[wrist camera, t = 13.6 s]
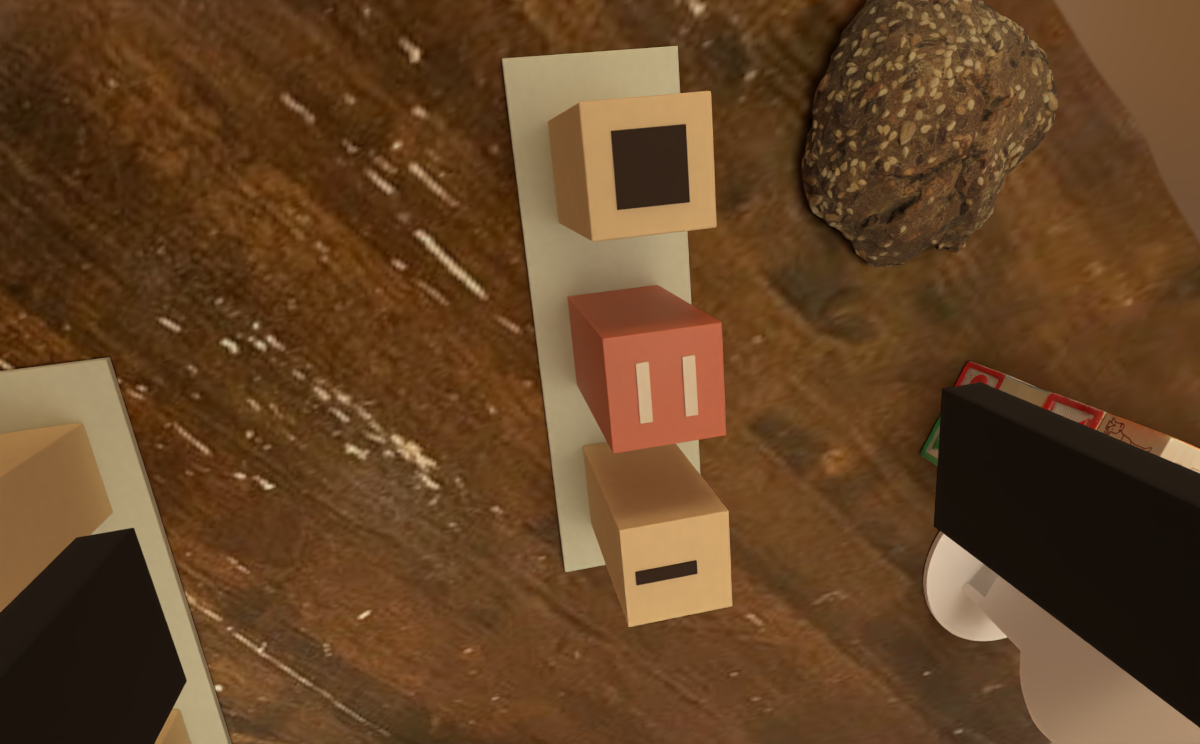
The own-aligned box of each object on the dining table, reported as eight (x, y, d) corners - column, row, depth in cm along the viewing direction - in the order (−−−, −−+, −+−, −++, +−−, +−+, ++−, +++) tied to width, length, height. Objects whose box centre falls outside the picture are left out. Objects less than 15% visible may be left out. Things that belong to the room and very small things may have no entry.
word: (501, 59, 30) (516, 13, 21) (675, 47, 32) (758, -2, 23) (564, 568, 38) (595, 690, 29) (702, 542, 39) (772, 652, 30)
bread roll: (884, -57, 32) (956, -96, 27) (1062, 84, 36) (1152, 71, 31) (747, 194, 34) (792, 197, 30) (928, 302, 38) (994, 321, 33)
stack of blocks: (1215, 464, 45) (1476, 564, 33) (1164, 546, 46) (1400, 671, 35) (965, 358, 39) (1177, 436, 28) (915, 455, 40) (1097, 570, 29)
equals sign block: (567, 296, 34) (602, 339, 25) (658, 284, 34) (723, 322, 26) (576, 385, 35) (613, 455, 26) (664, 372, 36) (727, 436, 27)
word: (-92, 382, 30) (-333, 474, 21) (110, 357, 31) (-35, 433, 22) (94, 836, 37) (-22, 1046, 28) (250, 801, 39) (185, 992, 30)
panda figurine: (995, 670, 47) (1227, 888, 32) (882, 601, 43) (1087, 812, 29) (1113, 531, 45) (1410, 696, 31) (1005, 448, 42) (1286, 591, 27)
